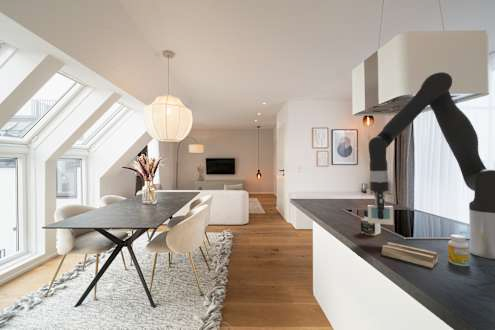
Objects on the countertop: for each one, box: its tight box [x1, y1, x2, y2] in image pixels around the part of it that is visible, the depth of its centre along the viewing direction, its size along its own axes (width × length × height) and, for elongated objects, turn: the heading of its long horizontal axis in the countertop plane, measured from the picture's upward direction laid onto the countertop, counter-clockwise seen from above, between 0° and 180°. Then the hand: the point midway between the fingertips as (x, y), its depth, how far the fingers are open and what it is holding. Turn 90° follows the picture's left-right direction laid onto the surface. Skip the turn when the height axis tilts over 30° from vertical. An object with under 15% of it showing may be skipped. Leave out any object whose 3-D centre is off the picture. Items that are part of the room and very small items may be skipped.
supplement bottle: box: [447, 234, 470, 267], centre depth 83 cm, size 5×5×10 cm
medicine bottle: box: [360, 209, 381, 237], centre depth 120 cm, size 7×7×12 cm
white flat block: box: [367, 204, 395, 226], centre depth 106 cm, size 2×10×8 cm, turn 65°
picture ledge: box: [381, 241, 439, 269], centre depth 88 cm, size 8×16×3 cm, turn 40°
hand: (380, 218), depth 106 cm, fingers closed on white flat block, 2 cm apart
